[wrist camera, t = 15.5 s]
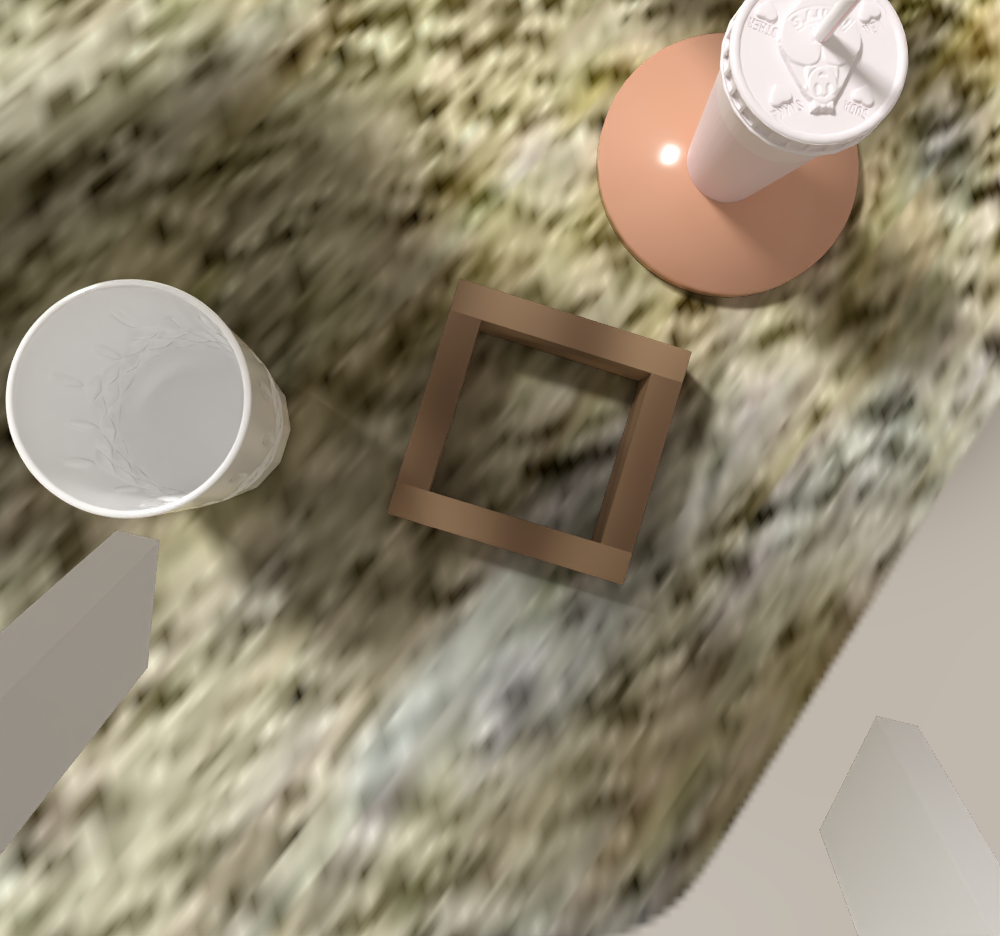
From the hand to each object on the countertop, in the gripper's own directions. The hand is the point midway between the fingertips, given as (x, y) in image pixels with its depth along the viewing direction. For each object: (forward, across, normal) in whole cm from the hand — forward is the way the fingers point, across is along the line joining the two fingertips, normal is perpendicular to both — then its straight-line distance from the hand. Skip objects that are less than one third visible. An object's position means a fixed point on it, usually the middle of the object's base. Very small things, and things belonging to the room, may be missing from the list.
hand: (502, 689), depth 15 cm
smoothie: (+29, +6, +10) cm, 31 cm away
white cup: (+22, -13, -6) cm, 27 cm away
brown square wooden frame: (+24, +1, -3) cm, 24 cm away
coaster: (+30, +6, +10) cm, 32 cm away
